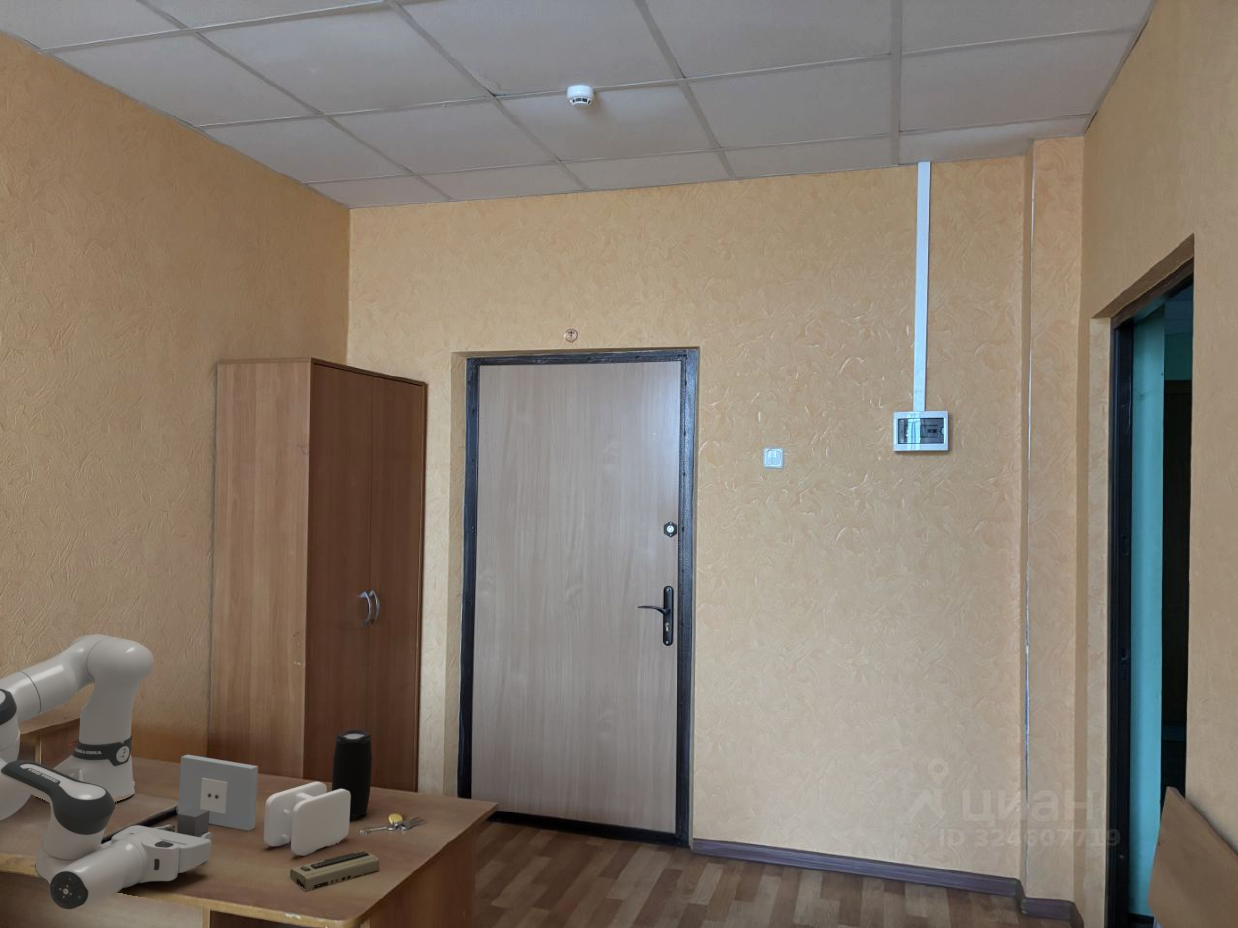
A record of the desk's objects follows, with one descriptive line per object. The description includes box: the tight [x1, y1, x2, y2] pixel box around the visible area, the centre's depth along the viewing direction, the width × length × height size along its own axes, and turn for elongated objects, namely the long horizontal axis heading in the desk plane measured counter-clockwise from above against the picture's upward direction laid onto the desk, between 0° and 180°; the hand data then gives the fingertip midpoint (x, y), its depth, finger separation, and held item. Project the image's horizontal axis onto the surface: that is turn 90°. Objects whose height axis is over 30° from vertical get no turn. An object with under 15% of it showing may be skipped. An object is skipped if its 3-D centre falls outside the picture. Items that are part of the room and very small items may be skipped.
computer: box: [289, 850, 380, 892], centre depth 183 cm, size 16×8×3 cm, turn 132°
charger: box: [176, 807, 210, 837], centre depth 189 cm, size 4×5×9 cm
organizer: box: [263, 781, 351, 857], centre depth 197 cm, size 15×11×12 cm
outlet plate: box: [177, 754, 259, 832], centre depth 206 cm, size 20×2×14 cm, turn 73°
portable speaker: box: [331, 728, 373, 822], centre depth 214 cm, size 9×9×20 cm
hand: (190, 831), depth 187 cm, fingers open, 8 cm apart
